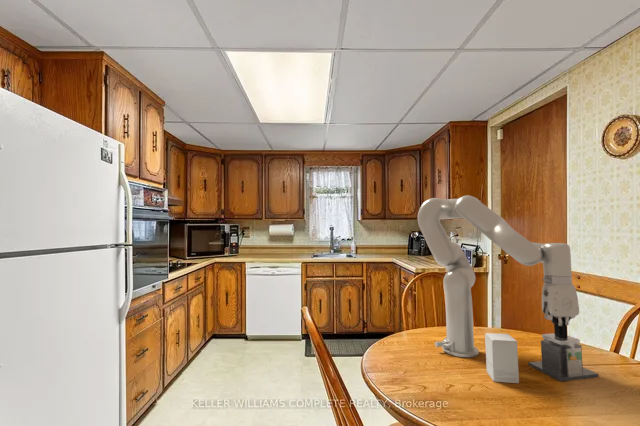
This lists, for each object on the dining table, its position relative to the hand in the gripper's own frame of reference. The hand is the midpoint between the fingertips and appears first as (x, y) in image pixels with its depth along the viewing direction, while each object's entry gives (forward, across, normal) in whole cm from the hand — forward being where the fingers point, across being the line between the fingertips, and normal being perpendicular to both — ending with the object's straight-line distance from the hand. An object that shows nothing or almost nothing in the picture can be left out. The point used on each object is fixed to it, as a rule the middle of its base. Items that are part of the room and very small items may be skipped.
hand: (561, 336), depth 107 cm
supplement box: (+11, -22, 0) cm, 25 cm away
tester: (+11, 0, 0) cm, 11 cm away
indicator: (+5, -2, -5) cm, 8 cm away
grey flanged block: (+9, 0, -1) cm, 9 cm away
